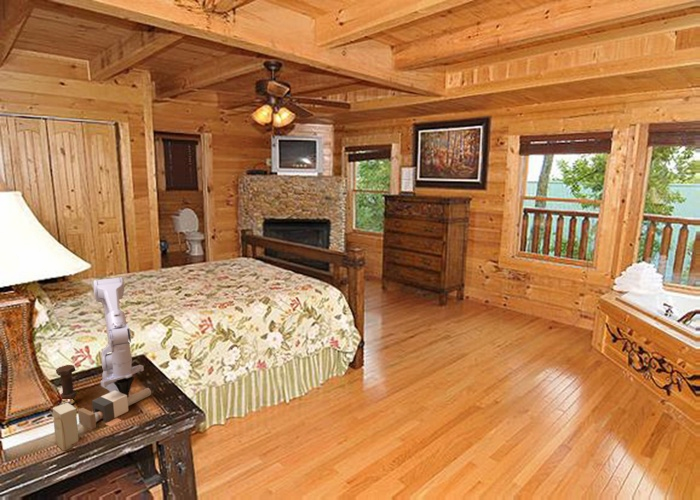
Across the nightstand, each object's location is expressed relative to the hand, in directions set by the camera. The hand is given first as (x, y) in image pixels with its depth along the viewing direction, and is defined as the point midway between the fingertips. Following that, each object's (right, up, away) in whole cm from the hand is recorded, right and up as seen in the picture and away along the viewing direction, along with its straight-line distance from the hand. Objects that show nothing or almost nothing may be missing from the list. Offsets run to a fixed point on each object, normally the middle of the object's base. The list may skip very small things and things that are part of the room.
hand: (124, 397), depth 146 cm
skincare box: (-7, -8, -19) cm, 22 cm away
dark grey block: (-4, -5, -6) cm, 9 cm away
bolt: (-21, -4, +2) cm, 22 cm away
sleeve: (-2, -4, -3) cm, 5 cm away
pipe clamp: (-1, -5, -2) cm, 6 cm away
